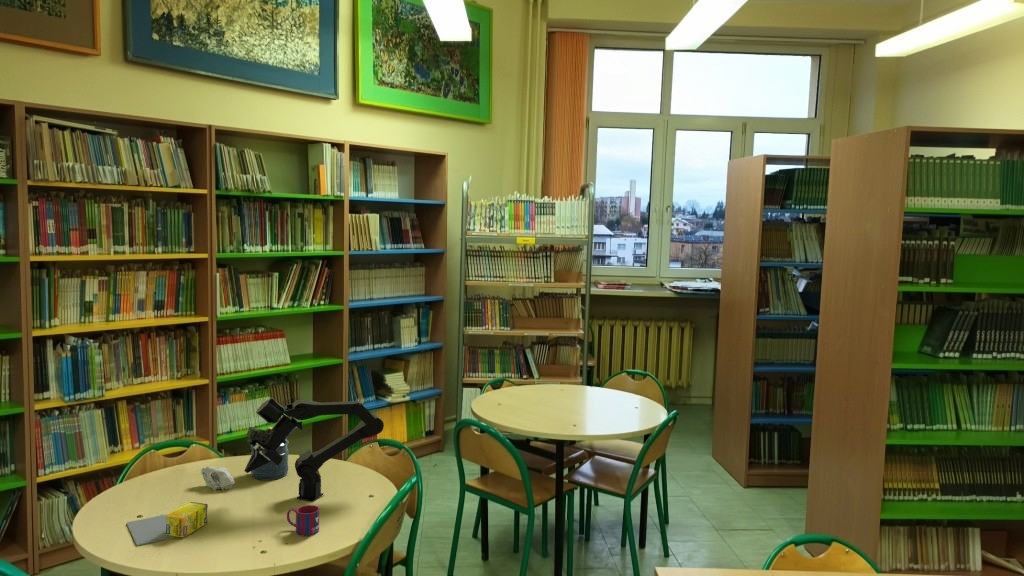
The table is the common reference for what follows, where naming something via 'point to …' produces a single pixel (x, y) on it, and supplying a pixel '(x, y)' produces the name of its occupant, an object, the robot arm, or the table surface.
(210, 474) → the skull
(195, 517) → the supplement box
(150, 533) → the mat
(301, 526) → the mug
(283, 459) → the canister
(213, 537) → the table surface
